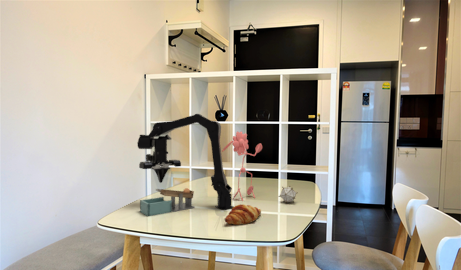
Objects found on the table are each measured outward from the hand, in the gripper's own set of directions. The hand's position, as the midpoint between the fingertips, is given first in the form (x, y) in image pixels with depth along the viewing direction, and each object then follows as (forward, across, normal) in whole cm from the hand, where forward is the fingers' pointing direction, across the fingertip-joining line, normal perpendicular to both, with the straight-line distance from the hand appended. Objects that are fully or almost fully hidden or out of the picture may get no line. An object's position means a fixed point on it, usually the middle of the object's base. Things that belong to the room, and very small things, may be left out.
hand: (160, 182), depth 140 cm
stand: (+11, -5, +9) cm, 15 cm away
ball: (+4, -8, +10) cm, 13 cm away
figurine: (+11, -40, +10) cm, 43 cm away
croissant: (+11, -17, +41) cm, 46 cm away
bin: (+11, +7, +10) cm, 16 cm away
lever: (+5, -3, +5) cm, 8 cm away
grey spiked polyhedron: (+11, -52, +32) cm, 63 cm away
